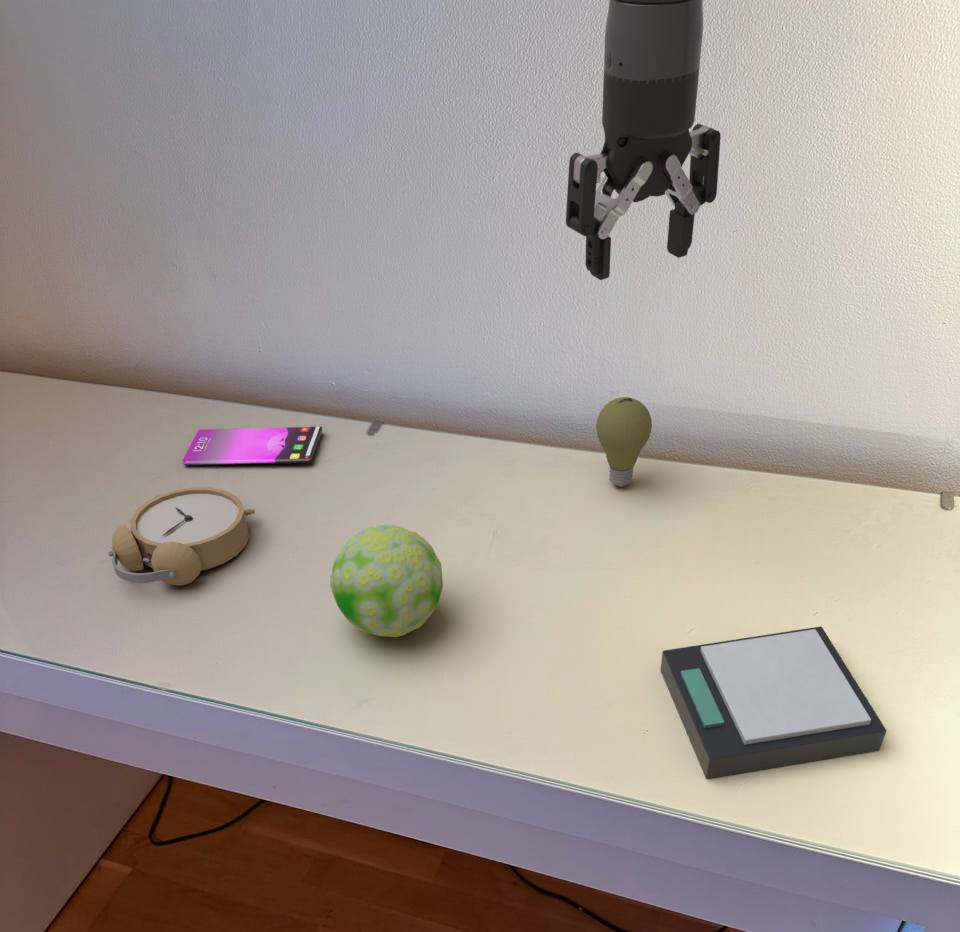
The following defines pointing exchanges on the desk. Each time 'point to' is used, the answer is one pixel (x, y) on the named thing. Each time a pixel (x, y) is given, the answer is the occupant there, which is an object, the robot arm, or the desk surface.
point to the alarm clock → (180, 535)
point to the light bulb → (623, 436)
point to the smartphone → (253, 446)
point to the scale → (769, 702)
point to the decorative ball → (387, 580)
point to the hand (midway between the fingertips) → (638, 265)
